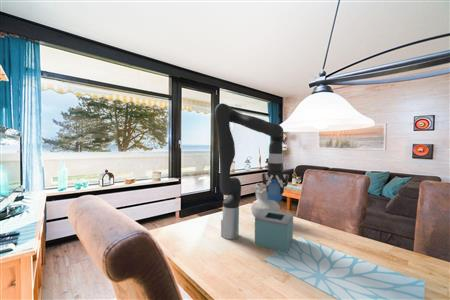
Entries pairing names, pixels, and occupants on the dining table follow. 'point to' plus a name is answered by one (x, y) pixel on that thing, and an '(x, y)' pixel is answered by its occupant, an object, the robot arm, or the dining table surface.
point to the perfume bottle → (274, 191)
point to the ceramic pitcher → (263, 202)
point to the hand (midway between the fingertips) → (274, 193)
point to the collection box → (274, 230)
